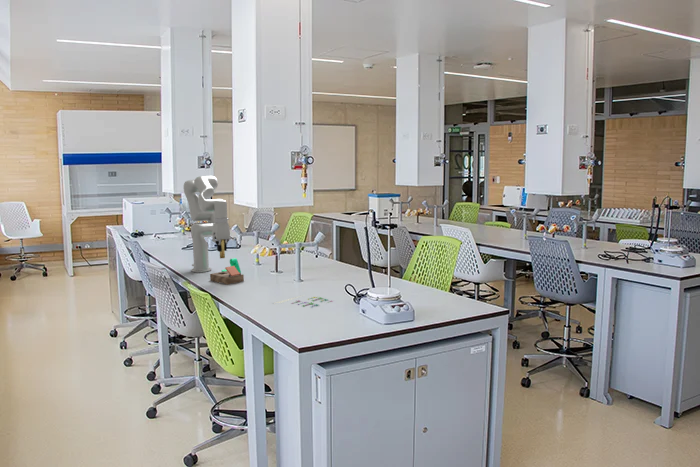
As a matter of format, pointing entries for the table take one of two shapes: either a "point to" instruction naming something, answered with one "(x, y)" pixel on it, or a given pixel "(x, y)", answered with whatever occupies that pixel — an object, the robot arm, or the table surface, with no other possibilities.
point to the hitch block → (226, 277)
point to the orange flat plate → (232, 271)
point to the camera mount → (234, 264)
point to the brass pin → (222, 253)
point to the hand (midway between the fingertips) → (222, 250)
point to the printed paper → (304, 302)
